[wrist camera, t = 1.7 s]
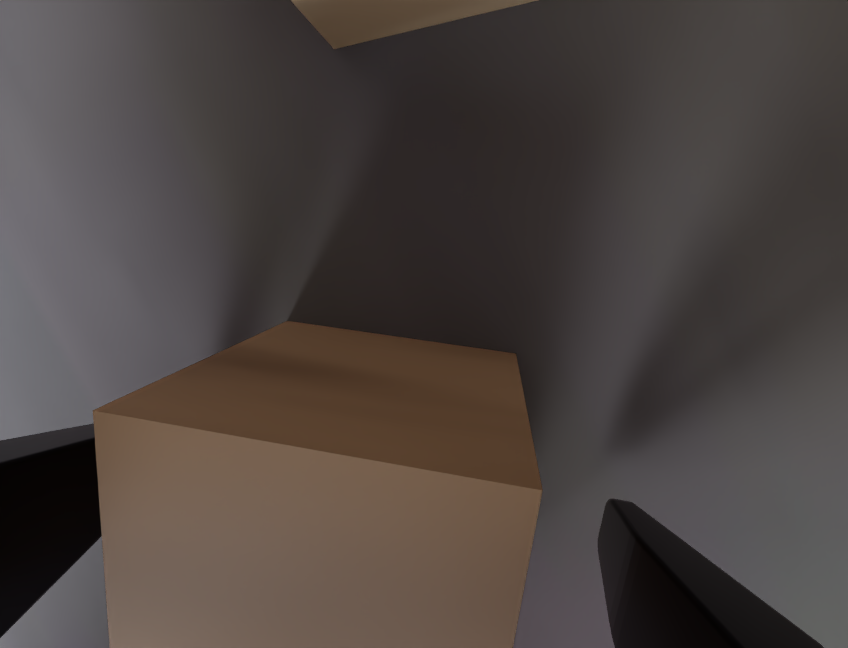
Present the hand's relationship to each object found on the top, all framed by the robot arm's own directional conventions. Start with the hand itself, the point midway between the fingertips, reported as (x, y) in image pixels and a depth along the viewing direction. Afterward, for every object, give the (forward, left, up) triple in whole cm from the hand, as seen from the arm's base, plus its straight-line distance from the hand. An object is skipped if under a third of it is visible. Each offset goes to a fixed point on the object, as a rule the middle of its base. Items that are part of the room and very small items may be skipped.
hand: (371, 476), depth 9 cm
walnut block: (0, 0, -1) cm, 1 cm away
